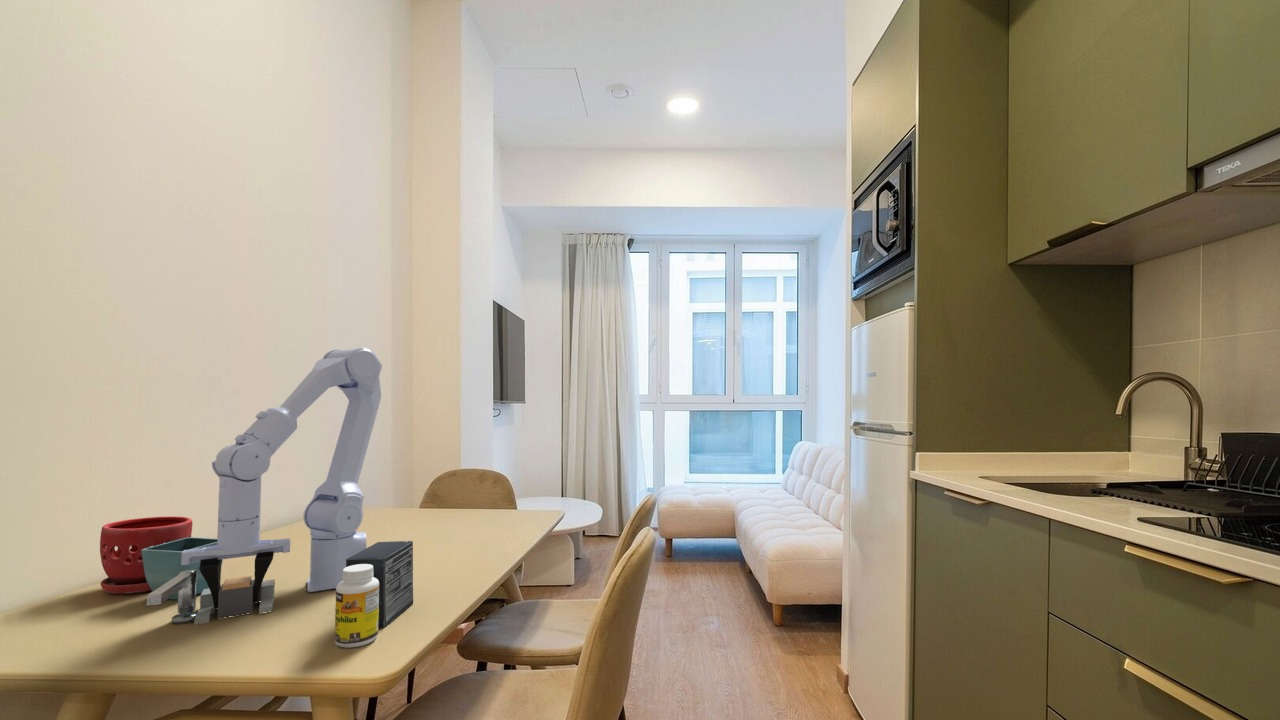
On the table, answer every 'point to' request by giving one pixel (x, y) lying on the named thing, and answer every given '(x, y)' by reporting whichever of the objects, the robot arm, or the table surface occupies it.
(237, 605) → the orange and grey block
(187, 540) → the flower pot
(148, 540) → the plant pot
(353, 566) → the supplement bottle
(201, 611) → the socket
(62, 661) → the table surface
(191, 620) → the door handle base
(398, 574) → the small box
